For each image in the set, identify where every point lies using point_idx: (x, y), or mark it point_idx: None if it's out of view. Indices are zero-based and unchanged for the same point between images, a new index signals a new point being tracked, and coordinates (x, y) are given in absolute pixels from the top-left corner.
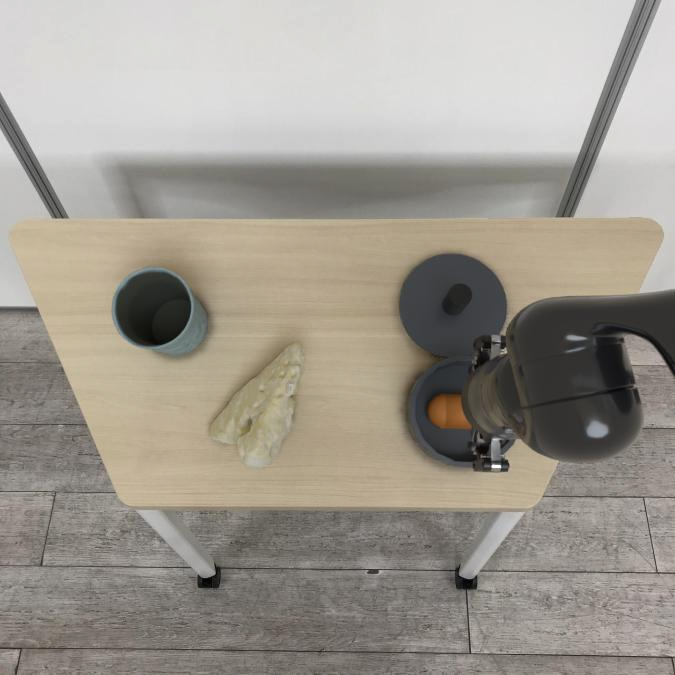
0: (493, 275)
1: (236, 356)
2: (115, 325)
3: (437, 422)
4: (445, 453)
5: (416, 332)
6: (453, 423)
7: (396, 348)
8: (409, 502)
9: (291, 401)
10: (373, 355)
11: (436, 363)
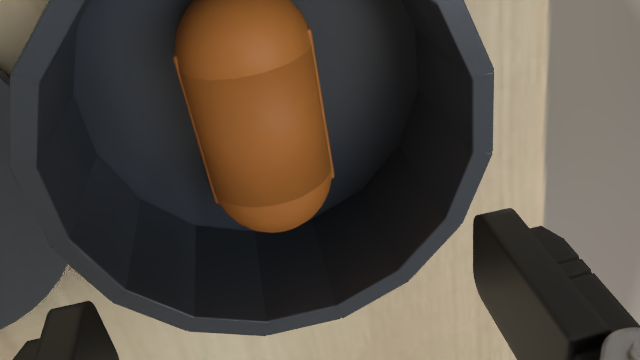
0: None
1: None
2: None
3: (322, 202)
4: (398, 103)
5: (26, 283)
6: (317, 158)
7: (104, 298)
8: (542, 161)
9: None
10: (149, 341)
11: (113, 298)
